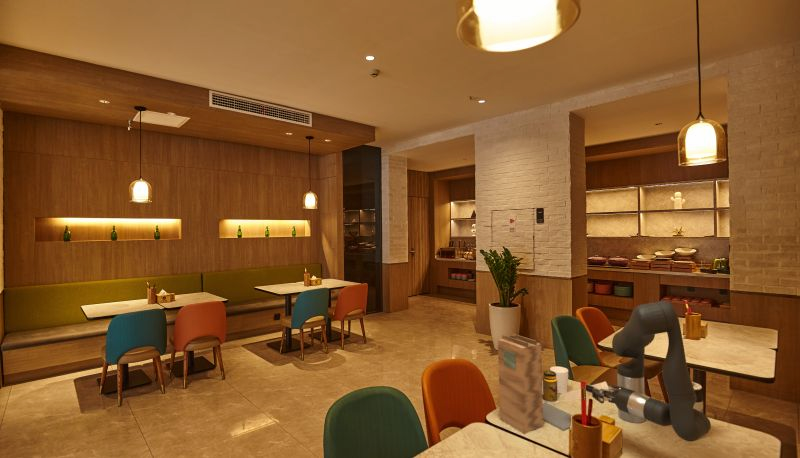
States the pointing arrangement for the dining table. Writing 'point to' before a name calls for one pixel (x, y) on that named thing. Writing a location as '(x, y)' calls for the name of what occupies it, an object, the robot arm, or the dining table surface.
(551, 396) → the condiment
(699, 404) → the travel mug
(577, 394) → the ivory plug peg
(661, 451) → the dining table surface
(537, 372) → the walnut tower
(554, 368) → the white cup
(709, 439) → the dining table surface
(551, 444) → the dining table surface
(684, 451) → the dining table surface
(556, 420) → the slate board
